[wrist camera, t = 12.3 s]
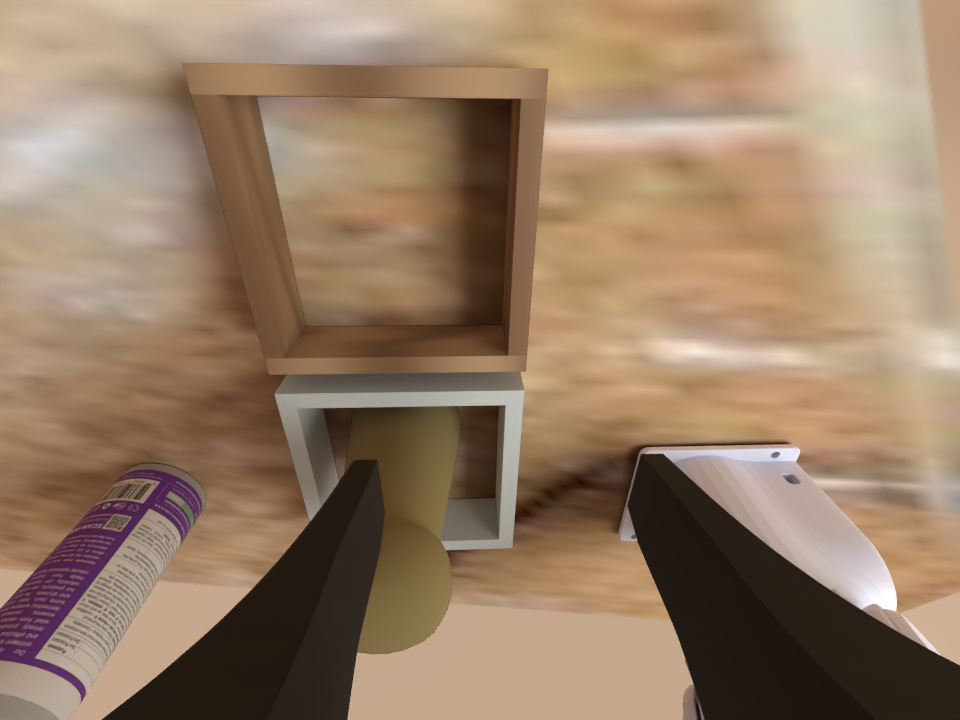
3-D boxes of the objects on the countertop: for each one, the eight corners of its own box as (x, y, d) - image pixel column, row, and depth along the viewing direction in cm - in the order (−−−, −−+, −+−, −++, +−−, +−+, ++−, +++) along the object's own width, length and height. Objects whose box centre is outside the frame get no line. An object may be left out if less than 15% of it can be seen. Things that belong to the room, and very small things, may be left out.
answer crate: (516, 356, 22) (524, 390, 19) (507, 506, 28) (512, 548, 25) (296, 359, 22) (274, 394, 19) (332, 511, 27) (318, 553, 25)
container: (113, 502, 26) (-227, 893, 13) (130, 451, 24) (-250, 850, 11) (195, 527, 27) (-40, 904, 15) (216, 481, 26) (-33, 867, 13)
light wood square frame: (534, 74, 16) (548, 68, 13) (517, 339, 22) (525, 371, 19) (227, 69, 16) (181, 62, 13) (292, 341, 21) (268, 374, 19)
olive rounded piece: (336, 387, 23) (248, 592, 13) (451, 371, 22) (445, 567, 13) (368, 471, 26) (315, 686, 16) (469, 457, 25) (475, 667, 16)
